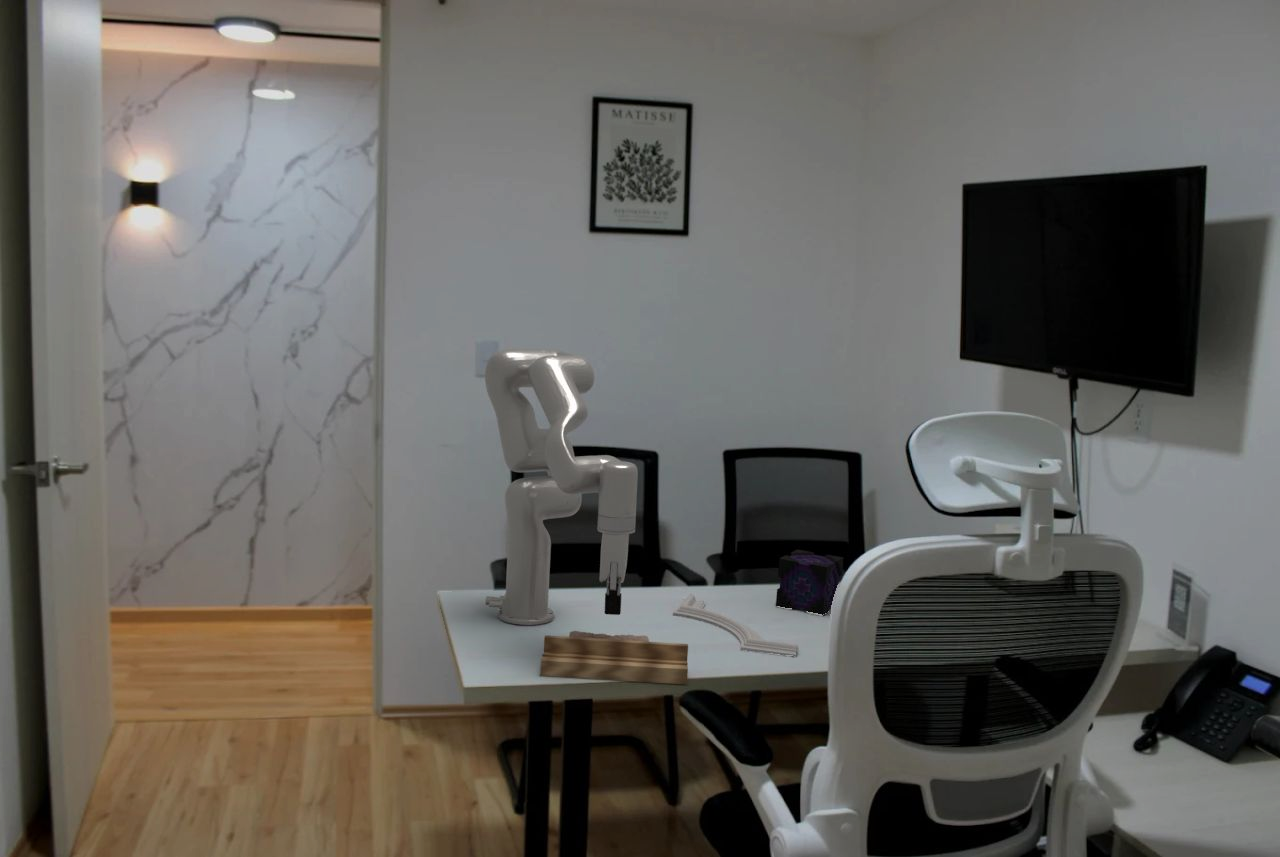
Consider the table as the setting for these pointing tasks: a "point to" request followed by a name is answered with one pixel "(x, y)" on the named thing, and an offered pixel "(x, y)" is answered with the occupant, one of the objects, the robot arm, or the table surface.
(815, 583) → the energy cube
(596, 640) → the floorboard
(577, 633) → the brick
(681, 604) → the molding
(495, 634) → the table surface
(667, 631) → the table surface
